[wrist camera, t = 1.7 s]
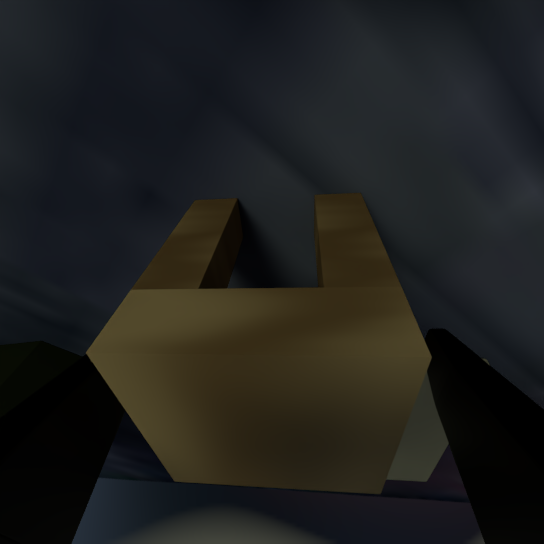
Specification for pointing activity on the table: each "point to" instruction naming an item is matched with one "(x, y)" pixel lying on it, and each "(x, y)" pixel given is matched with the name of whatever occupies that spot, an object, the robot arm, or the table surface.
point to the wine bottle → (29, 370)
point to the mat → (420, 440)
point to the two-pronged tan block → (268, 357)
